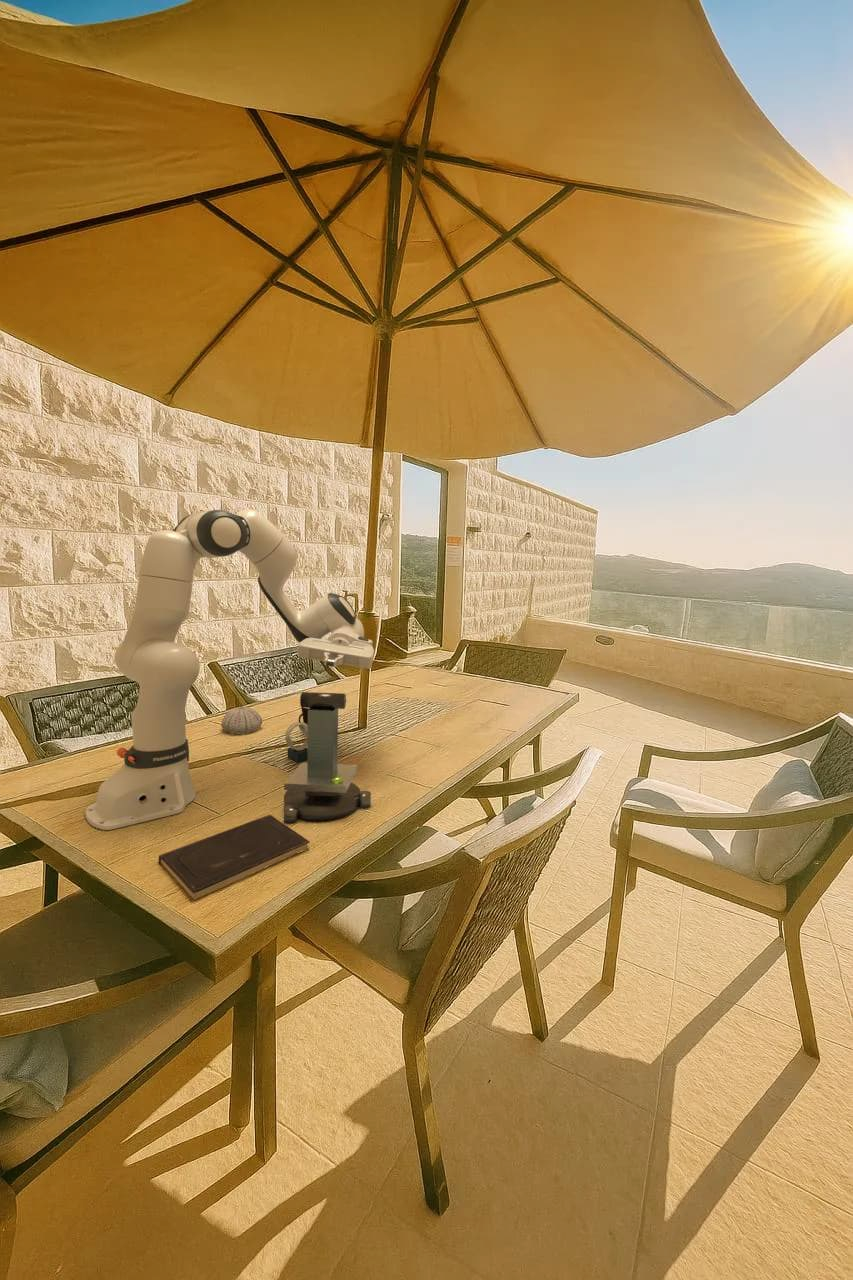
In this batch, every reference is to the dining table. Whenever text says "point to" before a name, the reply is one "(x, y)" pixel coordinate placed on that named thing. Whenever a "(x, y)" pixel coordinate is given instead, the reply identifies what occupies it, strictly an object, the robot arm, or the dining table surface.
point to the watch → (300, 751)
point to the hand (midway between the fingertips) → (329, 663)
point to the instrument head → (322, 747)
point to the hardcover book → (231, 855)
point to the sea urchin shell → (241, 720)
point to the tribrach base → (323, 804)
